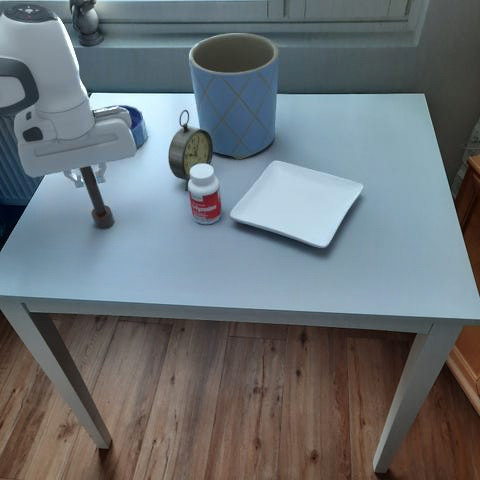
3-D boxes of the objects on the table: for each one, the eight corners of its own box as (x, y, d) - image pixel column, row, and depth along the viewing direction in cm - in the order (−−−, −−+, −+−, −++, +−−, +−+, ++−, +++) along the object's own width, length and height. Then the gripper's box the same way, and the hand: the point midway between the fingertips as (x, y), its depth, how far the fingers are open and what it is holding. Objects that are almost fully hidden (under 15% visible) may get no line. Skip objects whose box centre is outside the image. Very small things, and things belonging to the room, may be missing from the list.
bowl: (93, 161, 112) (86, 142, 108) (87, 130, 120) (81, 111, 116) (152, 149, 114) (147, 130, 110) (142, 119, 122) (138, 100, 118)
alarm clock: (189, 196, 102) (178, 127, 89) (169, 189, 104) (155, 120, 91) (216, 169, 108) (210, 100, 95) (197, 163, 110) (188, 94, 97)
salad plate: (273, 170, 107) (273, 157, 104) (363, 196, 100) (365, 182, 97) (227, 227, 96) (226, 214, 93) (325, 260, 89) (327, 247, 86)
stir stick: (96, 231, 97) (66, 152, 82) (94, 218, 99) (65, 140, 85) (115, 226, 97) (89, 148, 83) (113, 214, 100) (87, 136, 85)
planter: (183, 142, 115) (169, 56, 99) (235, 109, 123) (231, 25, 107) (240, 172, 107) (236, 84, 91) (293, 134, 115) (297, 47, 99)
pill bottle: (190, 225, 97) (183, 180, 88) (194, 205, 100) (188, 160, 92) (220, 225, 96) (215, 180, 87) (223, 206, 100) (219, 161, 91)
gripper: (124, 95, 83) (141, 163, 94) (5, 117, 80) (37, 185, 91) (130, 113, 79) (146, 181, 90) (5, 137, 76) (38, 205, 87)
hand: (90, 183), depth 90 cm, fingers open, 3 cm apart
